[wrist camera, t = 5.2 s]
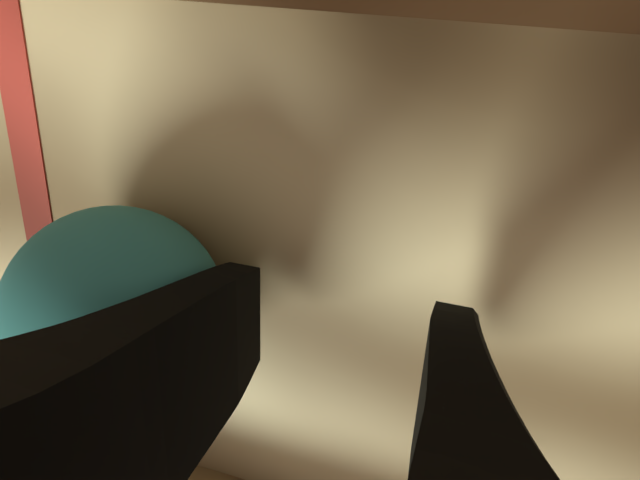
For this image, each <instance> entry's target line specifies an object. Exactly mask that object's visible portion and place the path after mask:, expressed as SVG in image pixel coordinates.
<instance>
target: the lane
mask: <svg viewBox="0 0 640 480" xmlns="http://www.w3.org/2000/svg"><path fill="white" fill-rule="evenodd" d="M112 205H121V206H131V207H137V208H141V209H146V210H150V211H152V212H155V213H158V214H160V215H163V216H165V217H167V218H169V219H171V220H173V221H175V222H176V223H178V224H179V225H181V226H182V227H183V228H185V229H186V230H188V231H189V232H190V233H191V234H192V235H193V236H194V237H195V238H196V239H198V240H199V242H200V243H201V244H202V245H203V246H204V248H205V249H206V250H207V251H208V253H209V255H210V256H211V258H212V259H213V261H214V263H215V265H216V266H218V265H221V264H224V263H228V262H233V263H238V264H243V265H249V266H254V267H259V268H260V362H259V364H258V366H257V368H256V370H255V372H254V374H253V376H252V379H251V381H250V383H249V385H248V387H247V389H246V391H245V393H244V395H243V397H242V399H241V400H240V402H239V404H238V406H237V407H236V409H235V410H234V412H233V414H232V415H231V417H230V418H229V420H228V421H227V423H226V424H225V426H224V427H223V428H222V430H221V431H220V433H219V434H218V436H217V437H216V439H215V440H214V442H213V443H212V445H211V446H210V448H209V449H208V451H207V452H206V454H205V455H204V456H203V458H202V459H201V461H200V462H199V464H198V465H197V467H196V468H195V470H194V471H193V472H192V474H191V475H190V477H189V478H188V480H408V472H409V463H410V453H411V445H412V438H413V431H414V425H415V418H416V411H417V404H418V397H419V391H420V384H421V377H422V370H423V364H424V357H425V350H426V343H427V336H428V330H429V323H430V317H431V314H432V311H433V308H434V305H435V302H436V301H439V302H444V303H450V304H455V305H460V306H465V307H471V308H473V309H474V310H475V311H476V313H477V314H478V315H479V322H480V326H481V329H482V333H483V336H484V339H485V342H486V344H487V347H488V350H489V353H490V355H491V358H492V360H493V362H494V365H495V367H496V369H497V371H498V373H499V376H500V378H501V380H502V382H503V384H504V386H505V388H506V391H507V393H508V395H509V396H510V398H511V400H512V402H513V404H514V406H515V408H516V410H517V412H518V413H519V415H520V417H521V419H522V420H523V422H524V424H525V426H526V428H527V429H528V431H529V433H530V434H531V436H532V438H533V439H534V441H535V443H536V444H537V446H538V447H539V449H540V451H541V452H542V454H543V455H544V457H545V458H546V460H547V461H548V463H549V464H550V466H551V467H552V469H553V470H554V471H555V473H556V474H557V476H558V477H559V479H560V480H640V0H0V280H1V278H2V276H3V274H4V272H5V270H6V268H7V266H8V264H9V263H10V261H11V260H12V258H13V257H14V256H15V254H16V253H17V252H18V250H19V249H20V248H21V247H22V246H23V245H24V244H25V243H26V242H27V241H28V240H29V239H30V238H31V237H32V236H33V235H34V234H36V233H37V232H38V231H40V230H41V229H42V228H43V227H45V226H47V225H48V224H50V223H52V222H54V221H55V220H57V219H59V218H61V217H64V216H66V215H68V214H71V213H73V212H76V211H80V210H83V209H87V208H92V207H99V206H112Z"/></svg>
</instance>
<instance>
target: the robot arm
mask: <svg viewBox="0 0 640 480" xmlns="http://www.w3.org/2000/svg"><path fill="white" fill-rule="evenodd" d="M259 362H260V268H259V267H254V266H249V265H243V264H238V263H233V262H228V263H224V264H221V265H218V266H215V267H212V268H209V269H206V270H203V271H201V272H198V273H196V274H193V275H191V276H188V277H185V278H183V279H180V280H178V281H175V282H173V283H170V284H168V285H165V286H163V287H160V288H158V289H155V290H153V291H150V292H148V293H145V294H143V295H140V296H138V297H135V298H132V299H129V300H127V301H124V302H121V303H118V304H115V305H113V306H110V307H107V308H104V309H101V310H98V311H96V312H93V313H90V314H87V315H84V316H82V317H79V318H75V319H72V320H69V321H66V322H63V323H59V324H56V325H53V326H49V327H46V328H42V329H38V330H35V331H31V332H27V333H24V334H20V335H16V336H12V337H8V338H4V339H0V480H188V478H189V477H190V475H191V474H192V472H193V471H194V470H195V468H196V467H197V465H198V464H199V462H200V461H201V459H202V458H203V456H204V455H205V454H206V452H207V451H208V449H209V448H210V446H211V445H212V443H213V442H214V440H215V439H216V437H217V436H218V434H219V433H220V431H221V430H222V428H223V427H224V426H225V424H226V423H227V421H228V420H229V418H230V417H231V415H232V414H233V412H234V410H235V409H236V407H237V406H238V404H239V402H240V400H241V399H242V397H243V395H244V393H245V391H246V389H247V387H248V385H249V383H250V381H251V379H252V376H253V374H254V372H255V370H256V368H257V366H258V364H259ZM408 480H560V479H559V477H558V476H557V474H556V473H555V471H554V470H553V469H552V467H551V466H550V464H549V463H548V461H547V460H546V458H545V457H544V455H543V454H542V452H541V451H540V449H539V447H538V446H537V444H536V443H535V441H534V439H533V438H532V436H531V434H530V433H529V431H528V429H527V428H526V426H525V424H524V422H523V420H522V419H521V417H520V415H519V413H518V412H517V410H516V408H515V406H514V404H513V402H512V400H511V398H510V396H509V395H508V393H507V391H506V388H505V386H504V384H503V382H502V380H501V378H500V376H499V373H498V371H497V369H496V367H495V365H494V362H493V360H492V358H491V355H490V353H489V350H488V347H487V344H486V342H485V339H484V336H483V333H482V329H481V326H480V322H479V315H478V314H477V313H476V311H475V310H474V309H473V308H471V307H465V306H460V305H455V304H450V303H444V302H439V301H436V302H435V305H434V308H433V311H432V314H431V317H430V323H429V330H428V336H427V343H426V350H425V357H424V364H423V370H422V377H421V384H420V391H419V397H418V404H417V411H416V418H415V425H414V431H413V438H412V445H411V453H410V463H409V472H408Z"/></svg>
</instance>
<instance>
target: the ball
mask: <svg viewBox="0 0 640 480" xmlns="http://www.w3.org/2000/svg"><path fill="white" fill-rule="evenodd" d="M215 266H216V265H215V263H214V261H213V259H212V258H211V256H210V255H209V253H208V251H207V250H206V249H205V248H204V246H203V245H202V244H201V243H200V242H199V240H198V239H196V238H195V237H194V236H193V235H192V234H191V233H190V232H189V231H188V230H186V229H185V228H183V227H182V226H181V225H179V224H178V223H176V222H175V221H173V220H171V219H169V218H167V217H165V216H163V215H160V214H158V213H155V212H152V211H150V210H146V209H141V208H137V207H131V206H121V205H112V206H99V207H92V208H87V209H83V210H80V211H76V212H73V213H71V214H68V215H66V216H64V217H61V218H59V219H57V220H55V221H54V222H52V223H50V224H48V225H47V226H45V227H43V228H42V229H41V230H40V231H38V232H37V233H36V234H34V235H33V236H32V237H31V238H30V239H29V240H28V241H27V242H26V243H25V244H24V245H23V246H22V247H21V248H20V249H19V250H18V252H17V253H16V254H15V256H14V257H13V258H12V260H11V261H10V263H9V264H8V266H7V268H6V270H5V272H4V274H3V276H2V278H1V280H0V339H4V338H8V337H12V336H16V335H20V334H24V333H27V332H31V331H35V330H38V329H42V328H46V327H49V326H53V325H56V324H59V323H63V322H66V321H69V320H72V319H75V318H79V317H82V316H84V315H87V314H90V313H93V312H96V311H98V310H101V309H104V308H107V307H110V306H113V305H115V304H118V303H121V302H124V301H127V300H129V299H132V298H135V297H138V296H140V295H143V294H145V293H148V292H150V291H153V290H155V289H158V288H160V287H163V286H165V285H168V284H170V283H173V282H175V281H178V280H180V279H183V278H185V277H188V276H191V275H193V274H196V273H198V272H201V271H203V270H206V269H209V268H212V267H215Z"/></svg>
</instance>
